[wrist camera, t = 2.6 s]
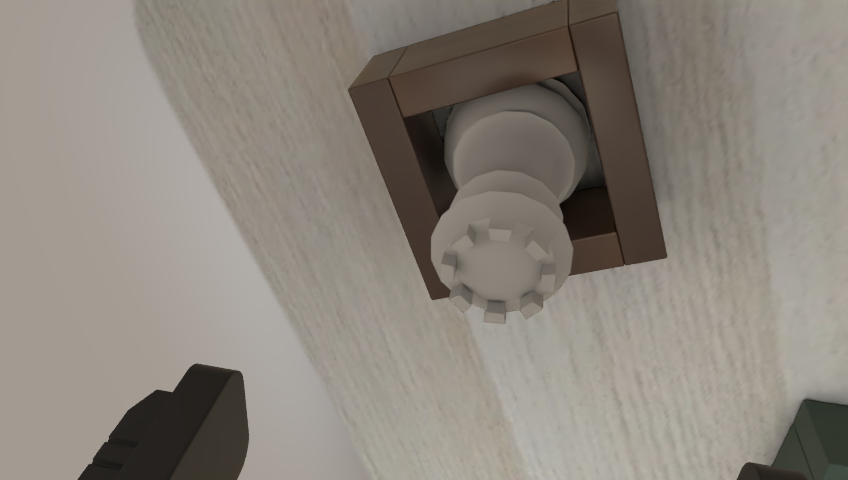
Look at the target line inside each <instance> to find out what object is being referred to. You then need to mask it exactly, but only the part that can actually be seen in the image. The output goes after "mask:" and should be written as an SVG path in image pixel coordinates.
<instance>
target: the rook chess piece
mask: <svg viewBox="0 0 848 480" xmlns="http://www.w3.org/2000/svg"><path fill="white" fill-rule="evenodd" d="M590 139H591V129H590V125H589V122H588V119H587V116H586V113H585V109H584V106H583V105H582V103H581V102H580V101H579V100H578V99H577V98H576V97H575V96H574V95H573V93H572V92H571V91H570V90H569V89H568V88H567V87H566V86H565V84H563V83H561V82H559V81H557V80H554V79H552V78H551V79H548V80H544V81H540V82H536V83H533V84H529V85H525V86H522V87H518V88H514V89H510V90H507V91H503V92H499V93H495V94H492V95H488V96H484V97H480V98H477V99H473V100H469V101H465V102H462V103H458V104H455V105H454V108H453V110H452V112H451V114H450V116H449V118H448V120H447V124H446V132H445V145H444V161H445V164H446V167H447V169H448V171H449V174H450V176H451V178H452V181H453V183H454V185H455V188H456V189H457V190H458V192H457V194H456V196H455V198H454V200H453V202H452V204H451V206H450V209H449V210H448V211H446V212H445V213H444V214H443V215H442V216H441V218H440V220H439V222H438V224H437V226H436V228H435V230H434V232H433V234H432V236H431V260H432V263H433V265H434V267H435V269H436V271H437V273H438V276H439V278H440V280H441V282H442V283H444V284H445V285H446V286H447V287H448V288H449V289H450V290H451V292H450V296H449V300H450V301H451V302H452V303H453V304H454V305H455V306H456V307H458V308H459V309H460V310H461V311H462V312H463V313H464V312H465V311H466V310H467V309H468V308H469V307H470V306H471V304H473V305H475V306H478V307H480V308H482V309H485V315H484V321H483V322H489V323H499V324H505V320H506V312H511V311H516V310H520V312H521V313H522V315H523V316H524V318H525V319H528V318H529V317H531V316H532V315H534V314H536V313H537V312H539V311H540V310H542V309H543V301H544V300H546V299H548V298H549V297H551V296H552V295H554V294H555V293H557V292H558V290H559V289H560V287H561V286H562V284H563V283H564V281H565V280H566V278H567V277H568V275H569V274H570V271H571V263H572V256H573V246H572V243H571V241H570V238H569V235H568V232H567V229H566V226H565V225H564V224H563V214H562V212H561V209H560V206H559V204H560V203H562V202H563V201H564V200H566V199H567V198H569V197H570V195H571V194H572V193H573V191H574V189H575V188H576V186H577V184H578V183H579V181H580V180H581V178H582V176H583V175H584V173H585V172H586V169H587V162H588V154H589V147H590Z"/></svg>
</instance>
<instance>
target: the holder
mask: <svg viewBox="0 0 848 480" xmlns="http://www.w3.org/2000/svg"><path fill="white" fill-rule="evenodd" d="M578 70H579V74H580V78H581V82H582V86H583V91H584V95H585V99H586V103H587V108H588V112H589V116H590V120H591V124H592V129H593V133H594V137H595V141H596V146H597V150H598V154H599V158H600V163H601V167H602V171H603V175H604V179H605V184H606V186H601V187H597V188H592V189H587V190H583V191H578V192H573V193H572V194H571V195H570V197H569V198H567V199H566V200H564V201H563V202H562V203H560V204H559V206H560V209H561V212H562V214H563V224H564V225H565V226H566V229H567V232H568V235H569V238H570V241H571V243H572V246H573V256H572V263H571V271H570V274H569V275H568V276H570V275H576V274H581V273H587V272H592V271H598V270H603V269H609V268H615V267H620V266H624V264H625V265H631V264H636V263H642V262H647V261H653V260H659V259H664V258H667V252H666V247H665V242H664V237H663V232H662V227H661V222H660V217H659V212H658V207H657V202H656V197H655V192H654V188H653V183H652V178H651V173H650V168H649V163H648V158H647V153H646V148H645V143H644V138H643V133H642V128H641V123H640V118H639V113H638V108H637V103H636V98H635V93H634V88H633V83H632V78H631V74H630V69H629V64H628V59H627V54H626V49H625V44H624V39H623V34H622V29H621V24H620V19H619V14H618V10H617V6H616V2H615V0H559V1H555V2H552V3H549V4H545V5H542V6H539V7H536V8H532V9H529V10H526V11H522V12H519V13H516V14H512V15H509V16H506V17H502V18H499V19H496V20H492V21H489V22H486V23H482V24H479V25H476V26H472V27H469V28H466V29H462V30H459V31H456V32H453V33H449V34H446V35H443V36H439V37H436V38H433V39H429V40H426V41H423V42H419V43H416V44H413V45H410V46H409V47H408V46H406V47H403V48H399V49H396V50H393V51H389V52H386V53H383V54H379V55H376V56H373V57H372V59H371V60H370V61H369V63H368V64H367V65H366V67H365V68H364V69H363V71H362V72H361V73H360V74H359V76H358V77H357V78H356V80H355V81H354V82H353V84H352V85H351V86H350V88H349V89H348V91H349V94H350V96H351V99H352V101H353V104H354V106H355V109H356V111H357V114H358V116H359V119H360V121H361V124H362V126H363V129H364V131H365V134H366V136H367V139H368V141H369V144H370V146H371V149H372V151H373V154H374V156H375V159H376V161H377V164H378V166H379V169H380V171H381V174H382V176H383V179H384V181H385V184H386V186H387V189H388V191H389V194H390V196H391V199H392V201H393V204H394V206H395V209H396V211H397V214H398V217H399V219H400V222H401V224H402V227H403V229H404V232H405V234H406V237H407V239H408V242H409V244H410V247H411V249H412V252H413V254H414V257H415V259H416V262H417V264H418V267H419V269H420V272H421V274H422V277H423V279H424V282H425V284H426V287H427V289H428V292H429V294H430V297H431V299H432V300H436V299H442V298H447V297H449V296H450V292H451V290H450V289H449V288H448V287H447V286H446V285H445V284H444V283H442V282H441V280H440V278H439V276H438V273H437V271H436V269H435V267H434V265H433V263H432V260H431V236H432V234H433V232H434V230H435V228H436V226H437V224H438V222H439V220H440V218H441V216H442V215H443V214H444V213H445V212H446V211H448V210H449V209H450V206H451V204H452V202H453V200H454V198H455V196H456V194H457V192H458V190H457V189H456V188H455V185H454V183H453V181H452V178H451V176H450V174H449V171H448V169H447V167H446V164H445V161H444V147H443V144H442V141H441V138H440V135H439V132H438V129H437V126H436V123H435V121H434V118H433V115H432V112H431V111H432V110H436V109H439V108H443V107H447V106H451V105H454V104H458V103H462V102H465V101H469V100H473V99H477V98H480V97H484V96H488V95H492V94H495V93H499V92H503V91H507V90H510V89H514V88H518V87H522V86H525V85H529V84H533V83H536V82H540V81H544V80H548V79H551V78H555V77H559V76H563V75H566V74H570V73H574V72H577V71H578Z"/></svg>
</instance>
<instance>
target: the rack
mask: <svg viewBox="0 0 848 480" xmlns="http://www.w3.org/2000/svg"><path fill="white" fill-rule="evenodd" d="M773 467H779V468H785V469H790V470H796V471H801V472H802V473H803V474H804V475H805V476H806V478H807V479H808V480H848V407H847V406H840V405H834V404H828V403H821V402H815V401H809V400H804V402H803V404H802V406H801V408H800V410H799V412H798V414H797V416H796V418H795V420H794V424H793V425H792V427H791V429H790V431H789V433H788V435H787V437H786V440H785V442H784V444H783V446H782V448H781V450H780V452H779V454H778V456H777V458H776V460H775V462H774V464H773Z"/></svg>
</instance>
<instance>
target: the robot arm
mask: <svg viewBox="0 0 848 480" xmlns="http://www.w3.org/2000/svg"><path fill="white" fill-rule="evenodd" d="M248 442H249V431H248V420H247V410H246V401H245V390H244V380H243V376H242V373H241V372H240V371H236V370H231V369H224V368H219V367H213V366H208V365H202V364H194V365H192V366H191V367H190V368H189V369H188V371H187V372H186V373H185V375H184V376H183V378H182V380H181V381H180V382H179V384H178V385H177V387H176V388H175V390H174V391H173V392H167V391H162V390H156V391H154V392H153V393H151V394H150V395H149V396H147V397H146V398H144V399H143V400H142V401H140V402H139V403H138V404H136V405H135V406H133V407H132V408H131V409H129V410H128V411H127V413H126V414H125V415H124V417H123V418H122V420H121V421H120V422H119V424H118V425H117V426H116V428H115V429H114V430H113V432H112V433H111V434H110V436H109V440H108V442H105V443H104V444H103V445H102V447H101V448H100V450H99V451H98V452H97V454H96V455H95V457H94V458H93V462H92V464H89V465H88V466H87V467H86V469H85V470H84V471H83V473H82V474H81V476H80V477H79V478H78V480H237V478H238V476H239V474H240V472H241V470H242V467H243V465H244V461H245V458H246V453H247V449H248ZM737 480H808V479H807V478H806V476H805V475H804V474H803V473H802V472H801V471H796V470H790V469H785V468H779V467H773V466H768V465H762V464H756V463H751V462H748V463H746V464H745V465H744V466H743V467H742V469H741V471H740V474H739V476H738V478H737Z"/></svg>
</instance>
